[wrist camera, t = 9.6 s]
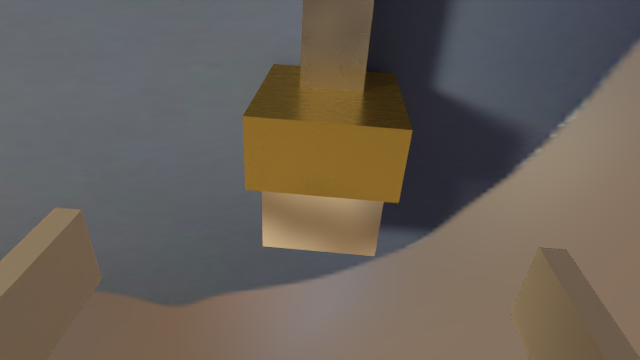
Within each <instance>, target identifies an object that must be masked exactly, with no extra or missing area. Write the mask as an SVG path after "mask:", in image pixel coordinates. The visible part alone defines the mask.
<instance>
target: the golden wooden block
mask: <svg viewBox="0 0 640 360" xmlns="http://www.w3.org/2000/svg"><path fill="white" fill-rule="evenodd" d="M373 7H374V0H303V18H302V44H301V66H292V65H280V64H273V66H272V68H271V69H270V71H269V73H268V74H267V76H266V78H265V80H264V81H263V83H262V85H261V86H260V88H259V90H258V91H257V93H256V95H255V96H254V98H253V100H252V101H251V103H250V105H249V107H248V108H247V110H246V112H245V113H244V115H243V135H244V164H245V190H254V191H265V192H277V193H288V194H300V195H311V196H322V197H334V198H345V199H357V200H368V201H380V202H391V203H399V199H400V194H401V188H402V183H403V178H404V173H405V168H406V162H407V157H408V152H409V147H410V141H411V136H412V131H413V130H412V126H411V123H410V120H409V117H408V114H407V111H406V107H405V104H404V101H403V98H402V95H401V92H400V88H399V85H398V82H397V79H396V76H395V74H392V73H380V72H367V71H366V66H367V58H368V49H369V41H370V33H371V24H372V16H373Z"/></svg>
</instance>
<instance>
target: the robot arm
mask: <svg viewBox="0 0 640 360" xmlns="http://www.w3.org/2000/svg"><path fill="white" fill-rule="evenodd" d="M101 280H102V278H101V274H100V271H99V267H98V264H97V260H96V257H95V254H94V250H93V247H92V243H91V240H90V236H89V233H88V230H87V226H86V223H85V219H84V216H83V212H82V210H77V209H65V208H55V209H54V210H53V211H52V212H51V213H50V214H48V215H47V216H46V217H45V218H44V219H43V220H42V221H41V222H40V223H39V224H38V225H37V226H36V227H35V228H34V229H33V230H32V231H31V232H30V233H29V234H28V235H27V236H26V237H25V238H24V239H23V240H22V241H21V242H20V243H18V244H17V245H16V246H15V247H14V248H13V249H12V250H11V251H10V252H9V253H8V254H7V255H6V256H5V257H4V258H3V259H2V260H1V261H0V360H47V358H48V357H49V355H50V354H51V352H52V351H53V349H54V348H55V347H56V345H57V344H58V342H59V341H60V339H61V338H62V336H63V335H64V334H65V332H66V331H67V329H68V328H69V326H70V325H71V323H72V322H73V320H74V319H75V318H76V316H77V314H78V313H79V312H80V310H81V309H82V308H83V306H84V305H85V303H86V302H87V300H88V299H89V297H90V296H91V295H92V293H93V292H94V290H95V289H96V287H97V286H98V284H99V283H100V282H101ZM510 315H511V317H512V320H513V322H514V325H515V327H516V329H517V332H518V334H519V336H520V339H521V341H522V343H523V346H524V348H525V350H526V353H527V355H528V358H529V360H640V358H639V356H638V355H637V353H636V352H635V350H634V349H633V347H632V346H631V344H630V343H629V341H628V340H627V339H626V337H625V335H624V334H623V333H622V331H621V330H620V328H619V327H618V325H617V324H616V322H615V321H614V319H613V318H612V316H611V315H610V313H609V312H608V310H607V309H606V307H605V306H604V305H603V303H602V302H601V300H600V299H599V297H598V296H597V294H596V293H595V291H594V290H593V288H592V287H591V285H590V284H589V283H588V281H587V280H586V278H585V277H584V275H583V274H582V272H581V271H580V269H579V268H578V266H577V265H576V263H575V262H574V261H573V259H572V258H571V256H570V255H569V253H568V252H567V250H563V249H551V248H539V249H538V251H537V254H536V256H535V258H534V260H533V262H532V265H531V267H530V270H529V272H528V274H527V277H526V279H525V281H524V283H523V285H522V288H521V290H520V292H519V294H518V297H517V299H516V301H515V304H514V306H513V308H512V311H511V313H510Z"/></svg>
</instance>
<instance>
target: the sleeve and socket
mask: <svg viewBox="0 0 640 360" xmlns="http://www.w3.org/2000/svg"><path fill="white" fill-rule="evenodd" d="M383 203H384V202H380V201H368V200H357V199H345V198H334V197H322V196H311V195H300V194H288V193H277V192H265V191H262V224H263V246H268V247H279V248H290V249H301V250H312V251H323V252H334V253H345V254H356V255H368V256H375V251H376V245H377V239H378V233H379V227H380V221H381V215H382V209H383Z"/></svg>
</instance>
